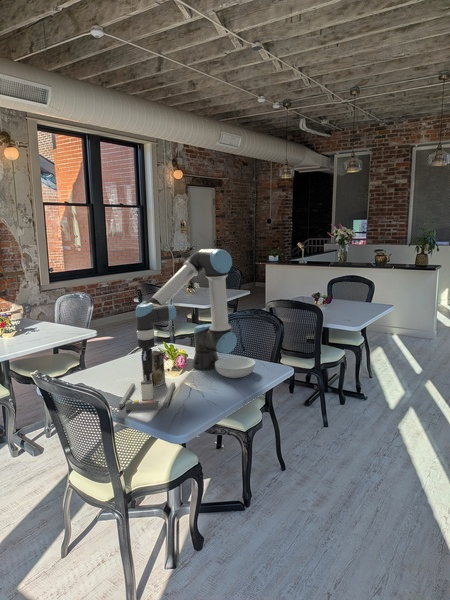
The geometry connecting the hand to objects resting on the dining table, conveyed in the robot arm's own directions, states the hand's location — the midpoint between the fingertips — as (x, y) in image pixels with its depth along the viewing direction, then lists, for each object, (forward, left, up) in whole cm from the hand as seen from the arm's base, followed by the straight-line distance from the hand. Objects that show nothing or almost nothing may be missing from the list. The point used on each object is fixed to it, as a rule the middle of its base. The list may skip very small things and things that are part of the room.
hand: (149, 387), depth 205 cm
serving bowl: (-40, -23, -4) cm, 46 cm away
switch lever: (0, +5, -4) cm, 6 cm away
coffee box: (0, -12, -4) cm, 13 cm away
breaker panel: (0, +4, -4) cm, 6 cm away
